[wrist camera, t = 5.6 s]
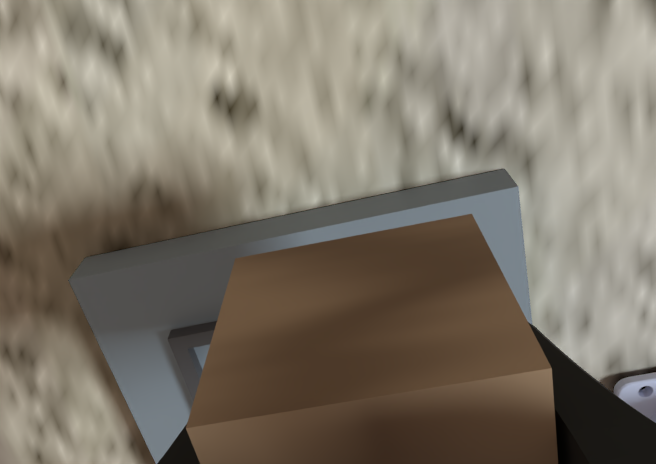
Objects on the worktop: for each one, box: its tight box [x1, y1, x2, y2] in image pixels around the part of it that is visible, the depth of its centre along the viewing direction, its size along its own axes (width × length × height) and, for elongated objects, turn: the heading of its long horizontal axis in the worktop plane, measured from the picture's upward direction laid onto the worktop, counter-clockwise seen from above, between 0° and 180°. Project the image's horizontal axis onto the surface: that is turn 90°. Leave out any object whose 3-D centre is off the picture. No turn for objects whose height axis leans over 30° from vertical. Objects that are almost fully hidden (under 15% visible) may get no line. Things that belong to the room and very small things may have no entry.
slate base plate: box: [68, 169, 532, 464], centre depth 22 cm, size 14×14×2 cm
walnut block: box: [186, 214, 558, 464], centre depth 12 cm, size 5×5×5 cm
